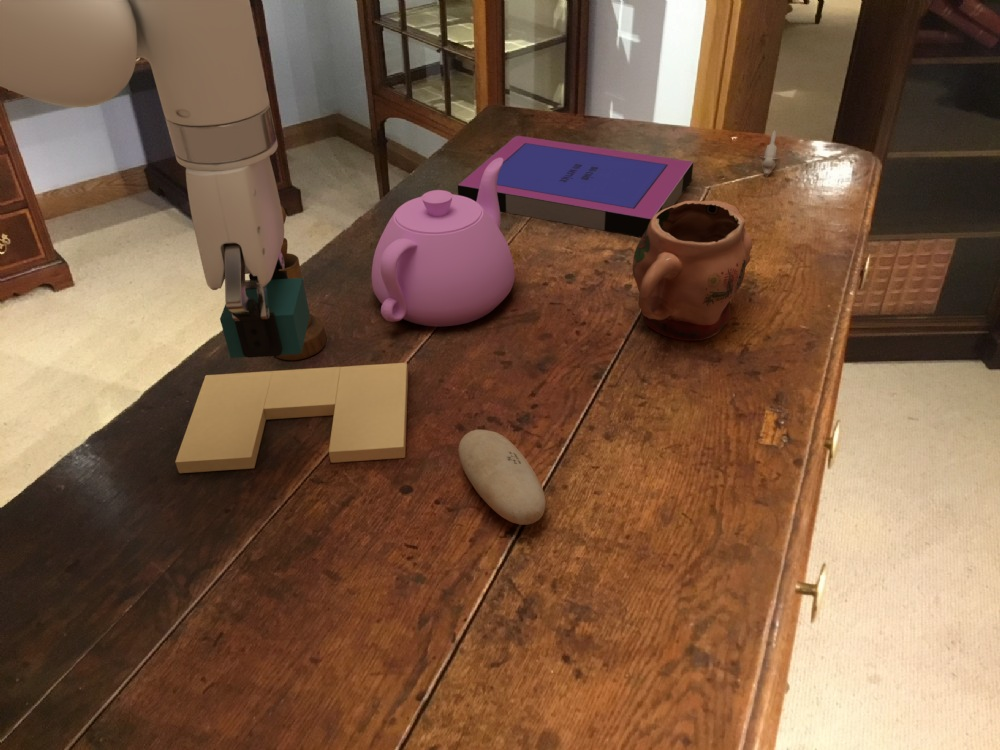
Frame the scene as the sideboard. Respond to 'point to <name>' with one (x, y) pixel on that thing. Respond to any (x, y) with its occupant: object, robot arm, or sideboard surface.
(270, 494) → the sideboard surface
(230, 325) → the teal block
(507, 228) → the sideboard surface
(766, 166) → the dog figurine
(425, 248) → the teapot
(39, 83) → the robot arm
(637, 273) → the decorative planter
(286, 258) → the mortar and pestle
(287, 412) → the tan u-shaped block
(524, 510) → the stone
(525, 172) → the book
